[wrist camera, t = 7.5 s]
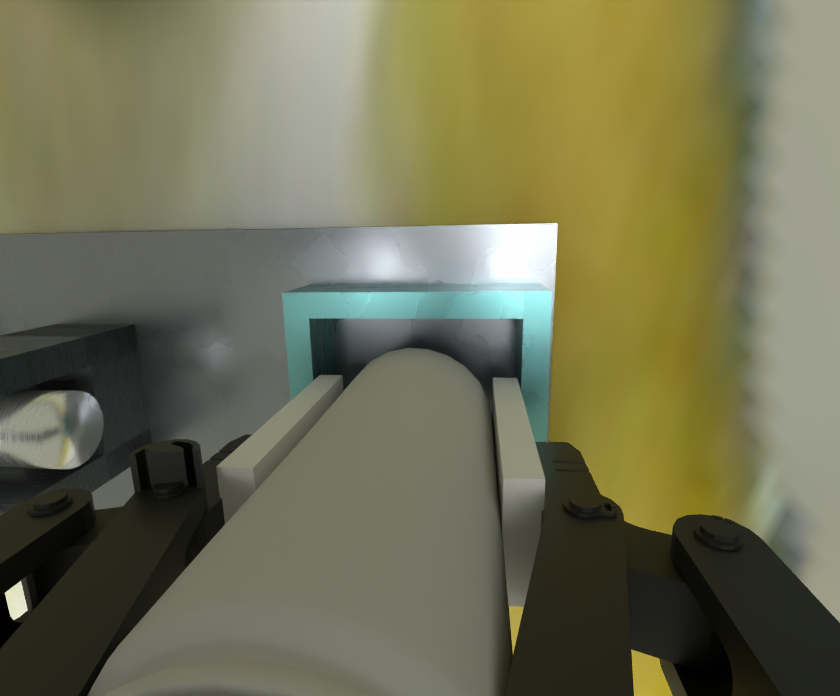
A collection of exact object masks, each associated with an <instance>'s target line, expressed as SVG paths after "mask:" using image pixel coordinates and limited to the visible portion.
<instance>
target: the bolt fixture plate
mask: <svg viewBox="0 0 840 696" xmlns="http://www.w3.org/2000/svg"><path fill="white" fill-rule="evenodd" d="M557 227H558V223H544V224H494V225H445V226H396V227H346V228H297V229H247V230H198V231H148V232H99V233H50V234H0V396H3V395H6V394H9V393H12V392H15V391H18V390H64V391H83V392H86V393H88V394H90V395H91V396H93V397H94V398H95V399H96V401H97V402H98V403H99V405H100V408H101V410H102V414H103V433H102V437H101V440H100V443H99V445H98V447H97V449H96V450H95V452H94V453H93V455H92V456H91V457H90V458H89V459H88V460H87V461H86V462H85V463H83V464H82V465H80V466H78V467H75V468H72V469H47V468H23V467H0V516H1V515H2V514H4V513H6V512H8V511H9V510H11V509H13V508H14V507H16V506H18V505H19V504H21V503H23V502H25V501H28V500H30V499H32V498H34V497H37V496H40V495H42V494H44V493H45V492H48V491H52V490H56V491H57V490H58V489H62V488H67V489H75V488H79V489H85V490H88V491H89V492H90V493H91V494H92V497H93V503H94V508H95V510H99V509H107V508H114V507H122V506H124V505H125V504H126V502H127V501H128V500H129V499H130V498H131V497H132V495H133V494H134V493H135V492H134V486H133V479H132V473H131V467H130V461H129V454H130V453H132V452H133V451H135V450H136V449H139V448H141V447H143V446H146V445H148V444H152V443H156V442H160V441H165V440H173V439H189V440H193V441H196V442H197V443H198V444H200V448H201V456H202V464H204V463H205V462H206V461H207V460H210V458H211V457H212V456H213V455H214V454H216V453H219V450H220V449H222V448H223V447H224V446H225V445H226V444H228V443H229V442H230V441H233V440H235V439H237V438H239V437H241V436H244V435H246V434H254V433H255V432H256V431H257V430H258V429H259V428H261V427H262V426H263V425H264V424H265V423H266V422H267V421H268V420H270V419H271V418H272V417H273V416H274V415H275V414H276V413H277V412H279V411H280V410H281V409H282V408H283V407H284V406H285V405H287V404H288V403H289V402H290V401H291V400H292V399H293V398H294V397H296V396H297V395H298V394H299V393H300V392H301V391H302V390H303V389H305V388H306V387H307V386H308V385H309V384H310V383H311V382H312V381H314V380H315V379H316V378H317V377H318V376H319V375H343V391H344V390H345V389H346V388H347V387H348V386H349V384H350V383H351V382H352V381H353V380H354V379H355V377H356V376H357V375H358V374H359V373H360V372H361V371H362V370H363V369H364V368H365V367H366V366H367V365H368V364H369V362H370V361H372V360H374V359H376V358H378V357H379V356H381V355H383V354H385V353H387V352H390V351H395V350H400V349H405V348H418V349H429V350H433V351H436V352H439V353H442V354H445V355H448V356H450V357H451V358H453V359H454V360H456V361H457V362H459V363H460V364H462V365H464V366H465V367H466V368H467V369H468V370H469V371H470V372H471V373H472V374H473V375H474V376H475V378H476V379H477V380H478V381H479V382H480V384H481V386H482V388H483V390H484V392H485V394H486V396H487V398H488V399H489V404H490V409H491V414H492V384H493V377H496V378H517V379H518V383H519V386H520V390H521V394H522V397H523V401H524V404H525V408H526V412H527V415H528V419H529V422H530V426H531V429H532V433H533V437H534V440H535V442H548V430H549V407H550V385H551V362H552V340H553V317H554V295H555V272H556V250H557Z"/></svg>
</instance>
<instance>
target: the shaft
mask: <svg viewBox="0 0 840 696" xmlns="http://www.w3.org/2000/svg"><path fill="white" fill-rule="evenodd" d="M102 433H103V414H102V410H101V408H100V405H99V403H98V402H97V401H96V399H95V398H94V397H93V396H91V395H90V394H88V393H86V392H83V391H64V390H18V391H15V392H12V393H9V394H6V395H3V396H0V467H23V468H47V469H72V468H75V467H78V466H80V465H82V464H83V463H85V462H86V461H87V460H88V459H89V458H90V457H91V456H92V455H93V453H94V452H95V450H96V449H97V447H98V445H99V443H100V440H101V437H102Z"/></svg>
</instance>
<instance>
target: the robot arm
mask: <svg viewBox="0 0 840 696" xmlns="http://www.w3.org/2000/svg"><path fill="white" fill-rule="evenodd" d="M342 393H343V375H319V376H318V377H317V378H316V379H315V380H314V381H312V382H311V383H310V384H309V385H308V386H307V387H306V388H305V389H303V390H302V391H301V392H300V393H299V394H298V395H297V396H296V397H294V398H293V399H292V400H291V401H290V402H289V403H288V404H287V405H285V406H284V407H283V408H282V409H281V410H280V411H279V412H277V413H276V414H275V415H274V416H273V417H272V418H271V419H270V420H268V421H267V422H266V423H265V424H264V425H263V426H262V427H261V428H259V429H258V430H257V431H256V432H255V433H254V434H246V435H244V436H241V437H239V438H237V439H235V440H233V441H230V442H229V443H228V444H226V445H225V446H224V447H223V448H222V449H220V450H219V453H216V454H214V455H213V456H212V457H211V458H210V460H207V461H206V462H205V463H204V464H202V456H201V448H200V444H198V443H197V442H196V441H193V440H189V439H173V440H165V441H160V442H156V443H152V444H148V445H146V446H143V447H141V448H139V449H136V450H135V451H133V452H132V453H130V454H129V461H130V467H131V473H132V479H133V486H134V492H135V493H134V494H133V495H132V497H131V498H130V499H129V500H128V501H127V502H126V504H125V505H124V506H122V507H114V508H107V509H99V510H95V508H94V503H93V497H92V494H91V493H90V492H89V491H88V490H85V489H79V488H75V489H67V488H62V489H58V490H57V491H56V490H52V491H48V492H45V493H44V494H42V495H40V496H37V497H34V498H32V499H30V500H28V501H25V502H23V503H21V504H19V505H18V506H16V507H14V508H13V509H11V510H9V511H8V512H6V513H4V514H2V515H1V516H0V696H87V695H88V693H89V691H90V690H91V688H92V686H93V684H94V683H95V681H96V679H97V677H98V676H99V674H100V672H101V670H102V669H103V667H104V665H105V663H106V662H107V660H108V659H109V657H110V656H111V655H112V653H113V652H114V651H115V649H116V648H117V647H118V645H119V644H120V643H121V642H122V641H123V640H124V639H125V637H126V636H127V635H128V634H129V633H130V632H131V631H132V629H133V628H134V627H135V626H136V625H137V624H138V623H139V621H140V620H141V619H142V618H143V617H144V616H145V615H146V613H147V612H148V611H149V610H150V609H151V608H152V607H153V605H154V604H155V603H156V602H157V601H158V600H159V599H160V597H161V596H162V595H163V594H164V593H165V592H166V591H167V589H168V588H169V587H170V586H171V585H172V584H173V583H174V581H175V580H176V579H177V578H178V577H179V576H180V575H181V573H182V572H183V571H184V570H185V569H186V568H187V567H188V566H189V564H190V563H191V562H192V561H193V560H194V559H195V558H196V557H197V555H198V554H199V553H200V552H201V551H202V550H203V549H204V548H205V546H206V545H207V544H208V543H209V542H210V541H211V540H212V539H213V537H214V536H215V535H216V534H217V533H218V532H219V531H220V530H221V528H222V527H223V526H224V525H225V524H226V523H227V522H228V521H229V520H230V518H231V517H232V516H233V515H234V514H235V513H236V512H237V511H238V510H239V509H240V507H241V506H242V505H243V504H244V503H245V502H246V501H247V500H248V499H249V498H250V496H251V495H252V494H253V493H254V492H255V491H256V490H257V489H258V488H259V487H260V485H261V484H262V483H263V482H264V481H265V480H266V479H267V478H268V477H269V475H270V474H271V473H272V472H273V471H274V470H275V469H276V468H277V467H278V466H279V464H280V463H281V462H282V461H283V460H284V459H285V458H286V457H287V456H288V455H289V453H290V452H291V451H292V450H293V449H294V448H295V447H296V446H297V445H298V443H299V442H300V441H301V440H302V439H303V438H304V437H305V435H306V434H307V433H308V432H309V431H310V430H311V429H312V427H313V426H314V425H315V424H316V423H317V422H318V421H319V419H320V418H321V417H322V416H323V415H324V414H325V412H326V411H327V410H328V409H329V408H330V407H331V405H332V404H333V403H334V402H335V401H336V400H337V398H338V397H339V396H340V395H341V394H342ZM492 420H493V432H494V444H495V456H496V468H497V480H498V492H499V504H500V516H501V528H502V536H503V547H504V559H505V571H506V582H507V594H508V606H523V607H524V609H523V614H522V618H521V623H520V627H519V632H518V636H517V640H516V645H515V649H514V654H513V658H512V663H511V667H510V672H509V676H508V681H507V685H506V690H505V694H504V696H634V691H633V673H632V656H631V649H632V650H635V651H639V652H642V653H645V654H648V655H651V656H654V657H657V658H659V659H660V664H661V668H662V670H663V673H664V675H665V678H666V680H667V682H668V685H669V687H670V689H671V692H672V694H673V696H840V623H839V622H838V621H837V620H836V619H835V617H834V616H833V615H832V614H831V613H830V612H829V611H828V610H827V609H826V608H825V607H824V606H823V604H822V603H821V602H820V601H819V600H818V599H817V598H816V597H815V596H814V595H813V594H812V593H811V592H810V590H809V589H808V588H807V587H806V586H805V585H804V584H803V583H802V582H801V581H800V580H799V579H798V578H797V576H796V575H795V574H794V573H793V572H792V571H791V570H790V569H789V568H788V567H787V566H786V565H785V564H784V563H783V561H782V560H781V559H780V558H779V557H778V556H777V555H776V554H775V553H774V552H773V551H772V550H771V549H770V547H769V546H768V545H767V544H766V543H765V542H764V541H763V540H762V539H761V538H760V537H758V536H757V535H756V534H755V533H753V532H752V531H751V530H750V529H747V528H745V527H743V526H741V525H739V524H737V523H735V522H734V521H732V520H729V519H726V518H725V519H723V517H719V516H714V515H712V516H708V515H701V514H699V515H686V516H684V517H681V518H679V519H677V520H676V522H675V523H674V525H673V531H672V535H669V534H665V533H661V532H656V531H652V530H648V529H644V528H641V527H637V526H634V525H632V524H630V523H627V522H625V521H624V515H623V513H622V510H621V508H620V507H619V506H618V505H617V504H616V503H615V502H613V501H612V500H611V499H609V498H606V497H604V496H602V495H600V493H599V490H598V488H597V486H596V484H595V482H594V480H593V478H592V476H591V474H590V473H589V469H588V467H587V465H586V464H585V461H584V459H583V457H582V455H581V453H580V451H579V450H577V449H576V448H574V447H573V446H572V445H570V444H569V443H567V442H535V440H534V437H533V433H532V429H531V426H530V422H529V419H528V415H527V412H526V408H525V404H524V401H523V397H522V394H521V390H520V386H519V383H518V379H517V378H496V377H493V384H492ZM19 581H21V582H22V586H23V591H24V595H25V600H26V604H27V608H28V611H27V612H25V613H24V614H23V615H22V616H21V617H19V618H17V619H15V620H13V619H12V618H11V617H10V614H9V610H8V605H7V601H6V597H5V592H6V591H7V590H9V589H10V588H11V587H13V586H14V585H15V584H17V583H18V582H19Z"/></svg>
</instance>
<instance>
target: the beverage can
mask: <svg viewBox="0 0 840 696" xmlns="http://www.w3.org/2000/svg"><path fill="white" fill-rule="evenodd" d="M512 658H513V653H512V641H511V629H510V618H509V606H508V594H507V582H506V571H505V559H504V547H503V536H502V528H501V516H500V504H499V492H498V480H497V468H496V456H495V444H494V432H493V420H492V414H491V409H490V404H489V399H488V398H487V396H486V394H485V392H484V390H483V388H482V386H481V384H480V382H479V381H478V380H477V379H476V378H475V376H474V375H473V374H472V373H471V372H470V371H469V370H468V369H467V368H466V367H465V366H464V365H462V364H460V363H459V362H457V361H456V360H454V359H453V358H451V357H450V356H448V355H445V354H442V353H439V352H436V351H433V350H429V349H418V348H405V349H400V350H395V351H390V352H387V353H385V354H383V355H381V356H379V357H378V358H376V359H374V360H372V361H370V362H369V364H368V365H367V366H366V367H365V368H364V369H363V370H362V371H361V372H360V373H359V374H358V375H357V376H356V377H355V379H354V380H353V381H352V382H351V383H350V384H349V386H348V387H347V388H346V389H345V390H344V391H343V393H342V394H341V395H340V396H339V397H338V398H337V400H336V401H335V402H334V403H333V404H332V405H331V407H330V408H329V409H328V410H327V411H326V412H325V414H324V415H323V416H322V417H321V418H320V419H319V421H318V422H317V423H316V424H315V425H314V426H313V427H312V429H311V430H310V431H309V432H308V433H307V434H306V435H305V437H304V438H303V439H302V440H301V441H300V442H299V443H298V445H297V446H296V447H295V448H294V449H293V450H292V451H291V452H290V453H289V455H288V456H287V457H286V458H285V459H284V460H283V461H282V462H281V463H280V464H279V466H278V467H277V468H276V469H275V470H274V471H273V472H272V473H271V474H270V475H269V477H268V478H267V479H266V480H265V481H264V482H263V483H262V484H261V485H260V487H259V488H258V489H257V490H256V491H255V492H254V493H253V494H252V495H251V496H250V498H249V499H248V500H247V501H246V502H245V503H244V504H243V505H242V506H241V507H240V509H239V510H238V511H237V512H236V513H235V514H234V515H233V516H232V517H231V518H230V520H229V521H228V522H227V523H226V524H225V525H224V526H223V527H222V528H221V530H220V531H219V532H218V533H217V534H216V535H215V536H214V537H213V539H212V540H211V541H210V542H209V543H208V544H207V545H206V546H205V548H204V549H203V550H202V551H201V552H200V553H199V554H198V555H197V557H196V558H195V559H194V560H193V561H192V562H191V563H190V564H189V566H188V567H187V568H186V569H185V570H184V571H183V572H182V573H181V575H180V576H179V577H178V578H177V579H176V580H175V581H174V583H173V584H172V585H171V586H170V587H169V588H168V589H167V591H166V592H165V593H164V594H163V595H162V596H161V597H160V599H159V600H158V601H157V602H156V603H155V604H154V605H153V607H152V608H151V609H150V610H149V611H148V612H147V613H146V615H145V616H144V617H143V618H142V619H141V620H140V621H139V623H138V624H137V625H136V626H135V627H134V628H133V629H132V631H131V632H130V633H129V634H128V635H127V636H126V637H125V639H124V640H123V641H122V642H121V643H120V644H119V645H118V647H117V648H116V649H115V651H114V652H113V653H112V655H111V656H110V657H109V659H108V660H107V662H106V663H105V665H104V667H103V669H102V670H101V672H100V674H99V676H98V677H97V679H96V681H95V683H94V684H93V686H92V688H91V690H90V691H89V693H88V695H87V696H504V694H505V690H506V685H507V681H508V676H509V672H510V667H511V663H512Z"/></svg>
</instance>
